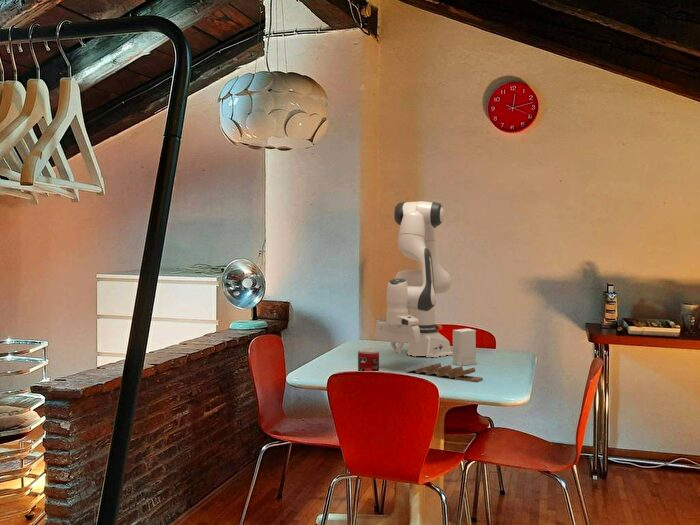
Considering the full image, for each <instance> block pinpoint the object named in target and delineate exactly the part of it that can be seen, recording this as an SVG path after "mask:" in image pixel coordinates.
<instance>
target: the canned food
mask: <svg viewBox="0 0 700 525" xmlns="http://www.w3.org/2000/svg"><path fill="white" fill-rule="evenodd" d="M357 351H358V352H357V372H358V371H379V372H380V350H378V349H375V348H361V349H358V350H357Z"/></svg>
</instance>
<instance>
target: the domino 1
mask: <svg viewBox="0 0 700 525" xmlns="http://www.w3.org/2000/svg"><path fill="white" fill-rule="evenodd" d="M431 365H432V364H431V361H427V362H424V363H420V364H416V365H413V366H410V367H406V368H405V372H406V373H409V372H413V371H415V370H417V369H420V368H424V367H427V366H431Z"/></svg>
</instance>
